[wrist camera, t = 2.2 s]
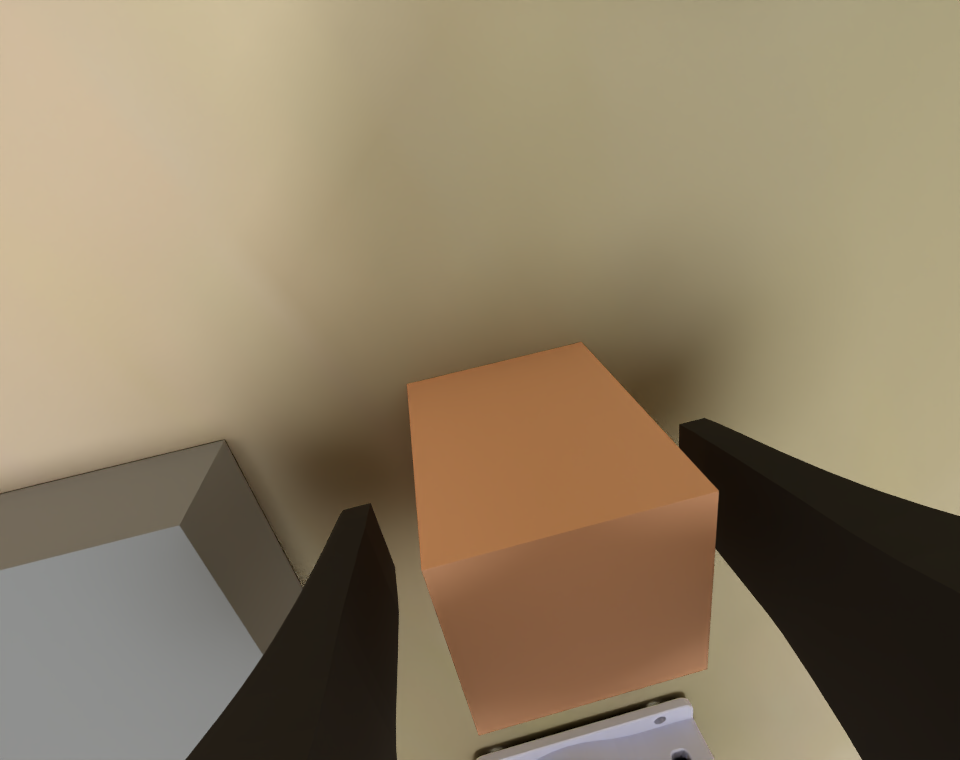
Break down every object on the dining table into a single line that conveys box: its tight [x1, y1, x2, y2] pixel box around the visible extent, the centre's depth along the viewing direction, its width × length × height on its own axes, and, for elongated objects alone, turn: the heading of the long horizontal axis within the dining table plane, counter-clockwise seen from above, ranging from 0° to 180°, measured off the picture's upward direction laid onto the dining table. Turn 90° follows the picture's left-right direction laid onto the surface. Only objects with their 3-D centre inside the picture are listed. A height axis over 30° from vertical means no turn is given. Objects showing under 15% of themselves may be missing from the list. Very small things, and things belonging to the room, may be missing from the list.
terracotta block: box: [407, 342, 719, 736], centre depth 11 cm, size 5×5×6 cm
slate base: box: [0, 440, 303, 760], centre depth 13 cm, size 10×10×3 cm
